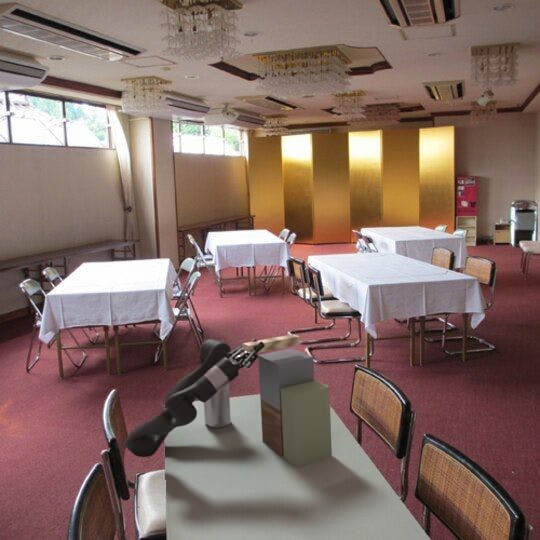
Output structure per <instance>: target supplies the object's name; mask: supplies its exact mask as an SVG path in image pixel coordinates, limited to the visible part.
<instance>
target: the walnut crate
mask: <svg viewBox="0 0 540 540" xmlns="http://www.w3.org/2000/svg"><path fill="white" fill-rule="evenodd" d="M260 414H261V415H260V416H261V417H260V418H261V437H262V438H261V439H262V443H264V444H265V445H267V446H268V447H269V448H270V449H272V450H273V451H275V452H276V453H277V454H278V455H280V456H282V457H284V451H283V429H282V411H279V410H278V409H276V408H275V407H273V406H271V405H270V404H268V403H266V402H265V401H263V400H261V399H260Z"/></svg>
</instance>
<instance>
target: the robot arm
mask: <svg viewBox="0 0 540 540" xmlns="http://www.w3.org/2000/svg"><path fill="white" fill-rule="evenodd" d="M253 341H258V340H257V338H253V339H252V340H251V341H250V342H253ZM264 347H265V345H264V343H263V342H261V341H260V342H259V343H258V344H257V345H256V346H254V347H253V348H252V349H251V350H249V351H245V352H244V350H243V344H241V345H239V346H238V347H236V348H234V349H231V346H230V345H229V344H228V343H227V342H225V341H220V340H216V339H212V338H210V339H206V340H204V342H203V343H202V344H201V346H200V350H199V358H200V365H199V366H198V367H197V368H196V369H195V370H194V371H191V372H190V373H188V374H187V375H185V376H184V377H182V378H181V379H179V380H178V381H177V382H176V383H175V384H174V386H173V387H172V388H171V390H170V391H169V392H168V393H167V394H166V396H165V400H164V404H163V405H164V406H163V409H162V410H161V411H160V412H159V413H157V415H156V416H154V417H153V418H151V419H149V420H146V421H144V422H143V423H141V424H139V425H138V426H136V427H134V429H133V430H131V431H130V433H129V434H128V435H127V436H126V438H125V441H124V447H125V448H126V449H127V450H128V451H129V452H130V453H132V455H134V456H135V457H140V458H148V457H152V456H154V455H155V454H156V453H157V451H158V450H159V448H160V447H161V445H162V444H163V443H164V441H165V440H166V438H168V437H167V436H168V435H169V433H171V432H172V431H173V430H174V429H176V428H178V427H184V426H187V425H189V424H191V423H193V422H194V420H196V418H197V416H198V410H197V408H196V406H195V405H194V404H193V403H195V401H196V399H197V400H198V401H199V402H201V403H203V410H204V412H203V414H204V425H206V426H208V427H210V428H215V429H216V428H219V429H220V428H224V427H227V426H229V425H230V424H232V423H231V421H232V420H231V403H230V399H231V398H230V386H229V385H230V383H231V382H233V380H235V379H236V378H237V377H238V376H239V375H240V374H239V370H241V369H242V368H244V367H245V368H246V369H249V368H251V367H252V365H253V364H254V363H255V362H256V360H258V355H259V353H258V352H259V351H260V350H261V349H262V348H264ZM250 353H251V354H250Z"/></svg>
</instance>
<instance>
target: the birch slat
mask: <svg viewBox="0 0 540 540" xmlns="http://www.w3.org/2000/svg"><path fill="white" fill-rule="evenodd" d="M260 341H261V342H263V343H264V345H265V347H264V348H262V349H261V350H260V351H259V352H258V353H257V354H259V353H265V352H269V351H275V350H280V349H285V348H290V347H294V346H295V347H296V346H300V345H301V336H300V335H297V334H295V333H293V334H288V335H282V336H281V335H280V336H276V337H270V338H264V339H260V340H257V341H253V342H251V341H248V342H243V343H242V345H243V350H244V352H245V351H249V350H251V349H252V348H253V347H254V346H256V345H257V344H258V343H259V342H260ZM250 354H251V353H250ZM250 354H249V355H250Z"/></svg>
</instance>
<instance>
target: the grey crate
mask: <svg viewBox="0 0 540 540" xmlns="http://www.w3.org/2000/svg"><path fill="white" fill-rule="evenodd" d="M257 355H258V358H257V360H258V377H259V379H258V381H259V397H260V399H261V400H263V401H265V402H266V403H268V404H270V405H271V406H273V407H275V408H276V409H278V410H279V411H282V408H281V388H286V387H290V386H294V385H298V384H303V383H307V382H311V381H315V365H314V364H315V361H314V356H313V355H309V354H307V353H305V352H302V351H300V350H297V349H295V348H288V349H282V350H278V351H273V352H267V353H262V354H257ZM261 400H260V401H261Z"/></svg>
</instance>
